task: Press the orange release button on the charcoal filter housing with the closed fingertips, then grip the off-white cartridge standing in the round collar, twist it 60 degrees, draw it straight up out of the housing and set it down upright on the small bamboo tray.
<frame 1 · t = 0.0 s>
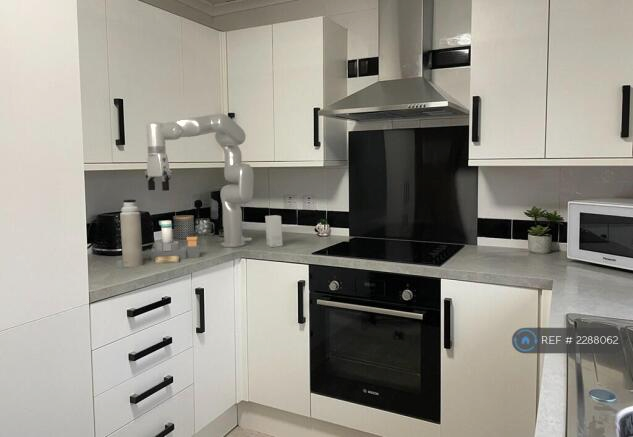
hand: (158, 190, 223), 31 cm above the worktop, tool pointing down, fingers open, 9 cm apart
release button: (192, 244, 234), point 6 cm above the worktop, slide at 0.0 cm
tray: (167, 261, 223), on the worktop
cartridge: (167, 249, 231), point 4 cm above the worktop, touching housing
skincare box: (274, 246, 261), on the worktop
thermos bottle: (133, 265, 216), on the worktop
housing: (177, 257, 233), on the worktop
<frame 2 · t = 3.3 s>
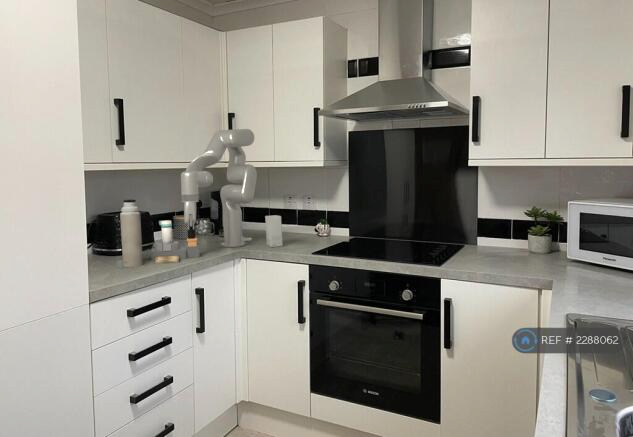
hand: (191, 238, 233), 8 cm above the worktop, tool pointing down, fingers closed
release button: (192, 245, 234), point 5 cm above the worktop, slide at 0.4 cm, touching gripper
everything else where it was.
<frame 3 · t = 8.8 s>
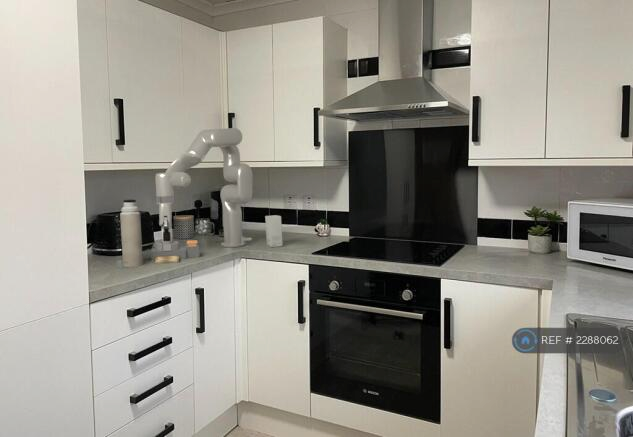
hand: (167, 239, 231), 8 cm above the worktop, tool pointing down, fingers closed on cartridge, 4 cm apart
release button: (192, 247, 234), point 4 cm above the worktop, slide at 1.7 cm
cartridge: (167, 249, 231), point 4 cm above the worktop, touching gripper, housing
everything else where it was.
when the fingers open (6 cm above the worktop, at t = 15.9 s): cartridge drops 1 cm, resting on tray.
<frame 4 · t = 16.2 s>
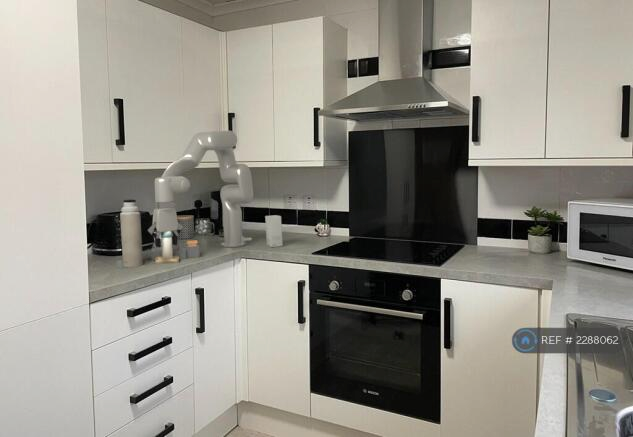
hand: (166, 245, 223), 7 cm above the worktop, tool pointing down, fingers open, 7 cm apart
cartridge: (167, 259, 224), point 1 cm above the worktop, touching tray
everything else where it was.
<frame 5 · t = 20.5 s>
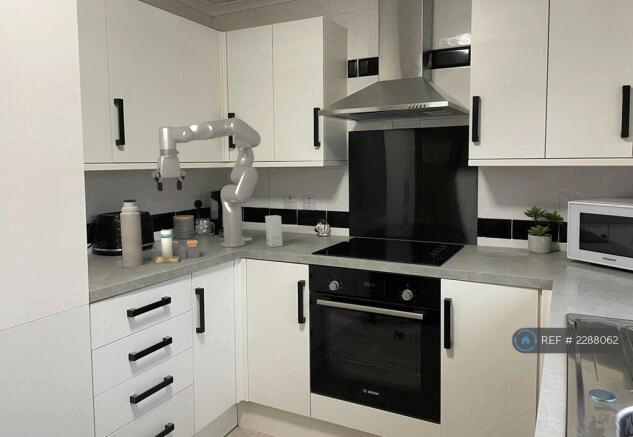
hand: (169, 190, 237), 30 cm above the worktop, tool pointing down, fingers open, 9 cm apart
nothing on the worktop moved.
at the end: cartridge inside the target area on the tray (0.3 cm from its centre), point 0.7 cm above the tray's base; cartridge tilted 2°; release button slide at 1.7 cm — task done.
